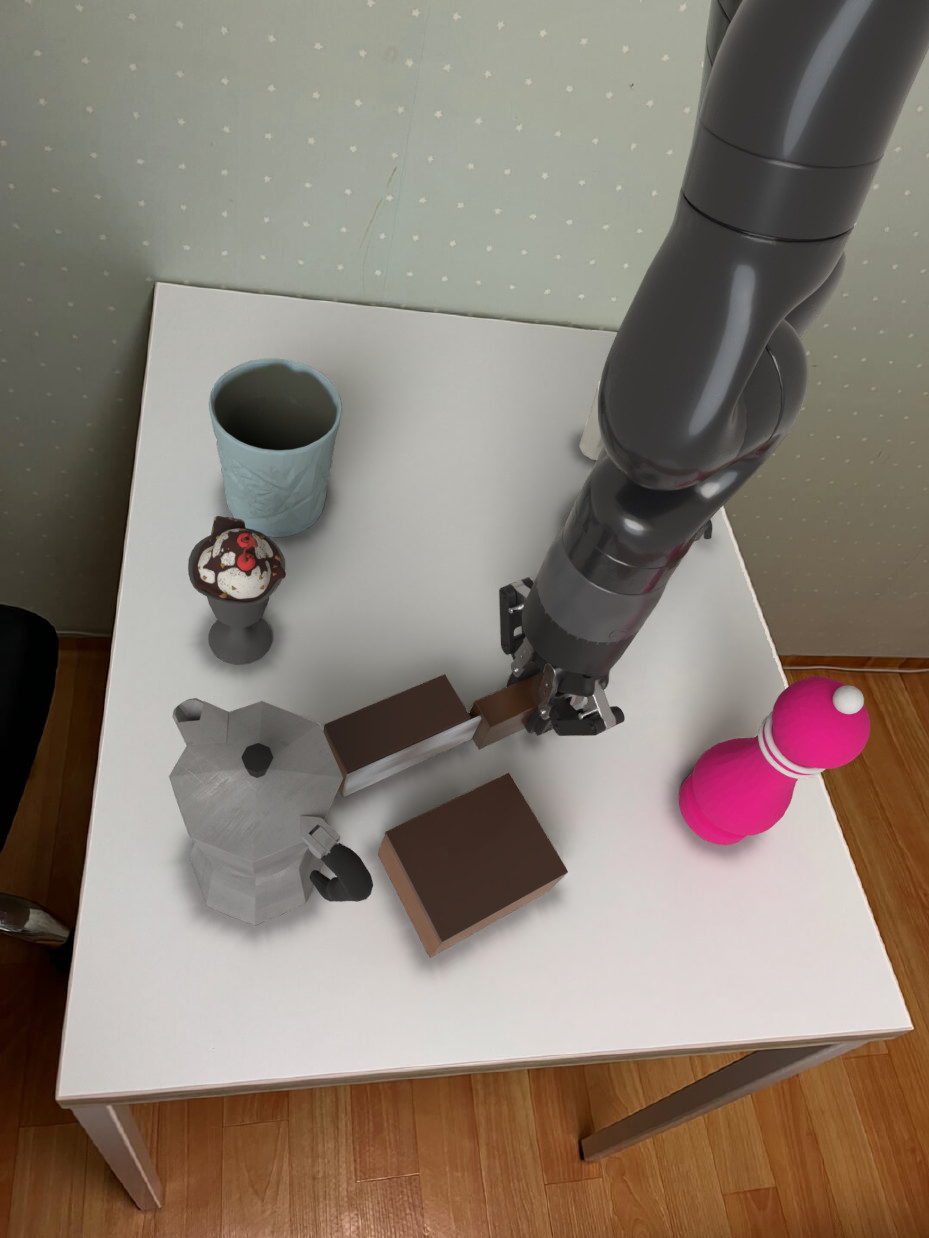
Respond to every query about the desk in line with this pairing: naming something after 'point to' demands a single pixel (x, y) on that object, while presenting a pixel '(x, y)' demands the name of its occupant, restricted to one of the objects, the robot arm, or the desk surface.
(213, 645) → the sundae
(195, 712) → the coffeepot
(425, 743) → the knife
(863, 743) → the pepper mill
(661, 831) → the desk surface
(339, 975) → the desk surface
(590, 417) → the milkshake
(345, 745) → the cake slice
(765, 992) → the desk surface
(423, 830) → the cake
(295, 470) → the blue ceramic cup
